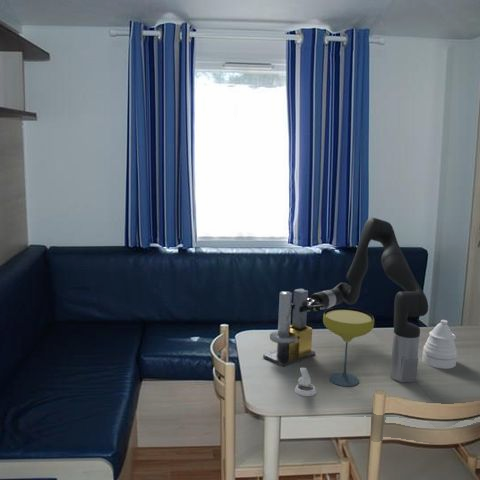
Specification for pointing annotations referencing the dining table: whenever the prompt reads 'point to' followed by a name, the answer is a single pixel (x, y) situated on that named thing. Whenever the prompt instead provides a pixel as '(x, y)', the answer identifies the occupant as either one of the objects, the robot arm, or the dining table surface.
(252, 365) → the dining table surface
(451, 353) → the honey pot
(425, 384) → the dining table surface
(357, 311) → the cocktail glass
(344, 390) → the dining table surface
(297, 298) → the grey square peg
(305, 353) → the flanged pole stand
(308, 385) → the white vr controller
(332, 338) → the dining table surface
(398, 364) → the robot arm
